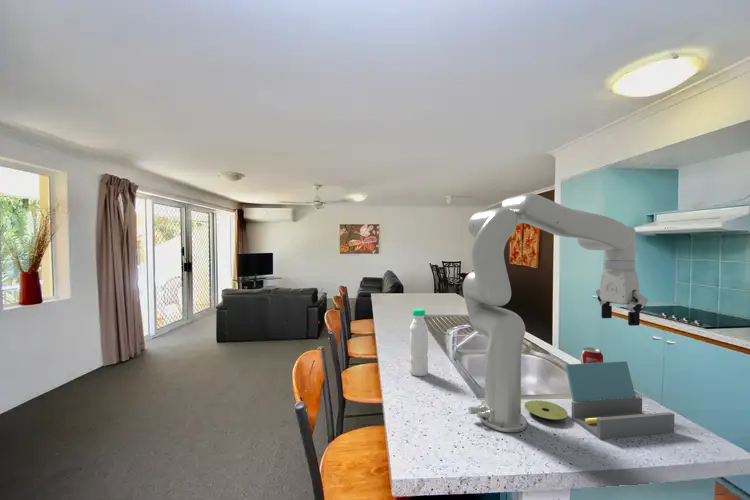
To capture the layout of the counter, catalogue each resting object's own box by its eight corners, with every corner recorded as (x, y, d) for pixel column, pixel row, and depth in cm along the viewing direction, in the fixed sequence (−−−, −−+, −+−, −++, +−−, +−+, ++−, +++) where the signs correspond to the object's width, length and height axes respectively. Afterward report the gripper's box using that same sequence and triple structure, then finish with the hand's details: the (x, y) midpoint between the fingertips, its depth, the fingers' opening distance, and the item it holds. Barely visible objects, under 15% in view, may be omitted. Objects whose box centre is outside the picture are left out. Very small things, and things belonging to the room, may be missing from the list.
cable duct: (600, 439, 84) (600, 420, 84) (571, 419, 94) (571, 401, 94) (674, 432, 87) (674, 414, 87) (638, 413, 97) (638, 396, 97)
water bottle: (430, 372, 128) (431, 308, 128) (423, 378, 123) (423, 311, 122) (414, 368, 132) (414, 306, 132) (406, 374, 126) (406, 309, 126)
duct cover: (567, 364, 97) (565, 364, 97) (574, 401, 94) (572, 401, 95) (626, 361, 100) (624, 361, 100) (635, 397, 97) (633, 396, 97)
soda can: (606, 387, 115) (606, 353, 115) (585, 385, 116) (585, 351, 116) (597, 379, 122) (597, 347, 122) (577, 378, 123) (577, 346, 123)
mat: (516, 406, 101) (516, 400, 101) (551, 405, 102) (551, 399, 102) (538, 427, 90) (538, 419, 90) (577, 424, 91) (577, 417, 91)
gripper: (587, 264, 109) (587, 316, 109) (634, 268, 92) (634, 328, 92) (607, 264, 110) (607, 315, 110) (658, 268, 93) (657, 328, 93)
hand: (619, 321), depth 101 cm, fingers open, 9 cm apart
